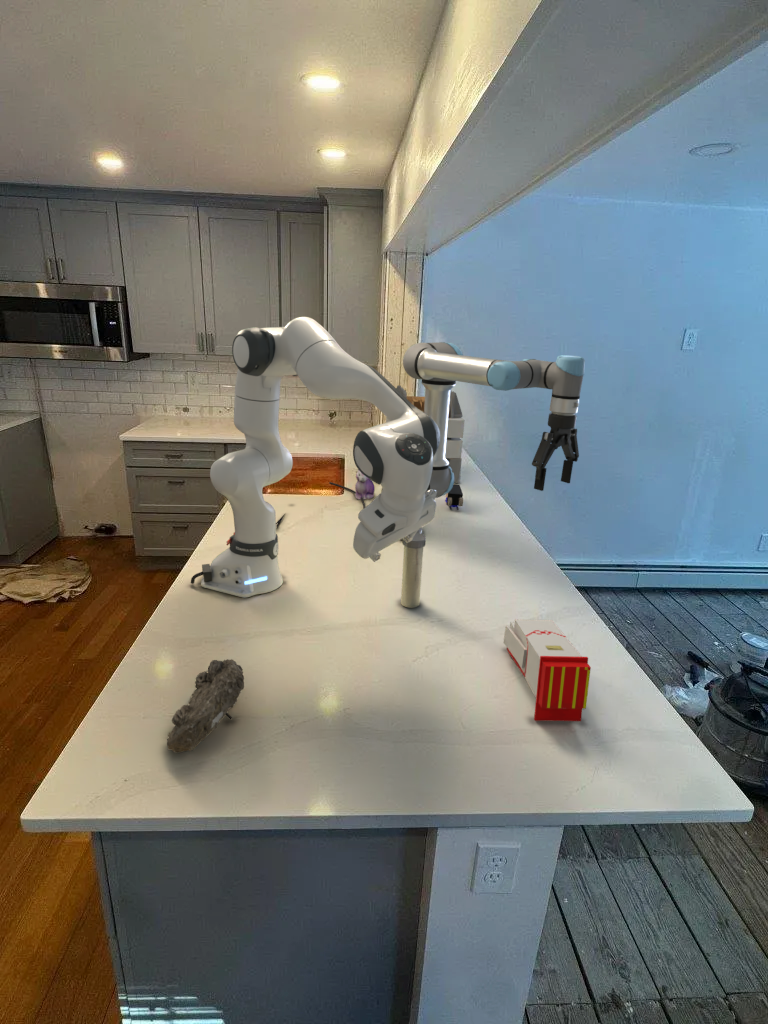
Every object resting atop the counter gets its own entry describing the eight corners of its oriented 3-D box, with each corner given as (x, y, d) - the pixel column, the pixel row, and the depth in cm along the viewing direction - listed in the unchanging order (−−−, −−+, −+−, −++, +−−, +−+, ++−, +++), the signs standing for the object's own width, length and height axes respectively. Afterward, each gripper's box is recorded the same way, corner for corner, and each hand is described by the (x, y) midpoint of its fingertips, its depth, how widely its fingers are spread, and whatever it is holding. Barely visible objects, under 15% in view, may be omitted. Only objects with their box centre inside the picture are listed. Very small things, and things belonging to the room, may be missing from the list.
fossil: (192, 660, 117) (244, 628, 112) (224, 691, 120) (276, 661, 115) (142, 746, 98) (202, 712, 93) (182, 779, 101) (242, 748, 96)
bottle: (398, 605, 152) (401, 539, 145) (404, 597, 156) (408, 533, 150) (415, 609, 150) (420, 543, 144) (421, 601, 154) (426, 536, 148)
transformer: (382, 463, 289) (386, 382, 275) (445, 464, 293) (451, 384, 279) (390, 482, 257) (394, 392, 243) (460, 483, 261) (468, 394, 247)
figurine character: (463, 515, 225) (458, 499, 238) (465, 497, 221) (460, 482, 235) (446, 514, 224) (442, 498, 238) (448, 497, 221) (444, 482, 235)
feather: (292, 507, 224) (294, 503, 223) (275, 531, 197) (278, 527, 197) (288, 505, 224) (291, 501, 223) (271, 528, 197) (273, 524, 197)
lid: (399, 546, 146) (399, 538, 145) (406, 538, 151) (407, 530, 150) (421, 550, 144) (421, 542, 143) (428, 542, 149) (428, 534, 148)
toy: (549, 604, 136) (599, 663, 106) (544, 656, 138) (591, 727, 109) (499, 603, 135) (535, 662, 106) (495, 655, 138) (529, 726, 109)
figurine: (359, 501, 230) (360, 466, 225) (349, 494, 239) (349, 459, 234) (379, 499, 235) (381, 464, 230) (369, 491, 243) (370, 458, 238)
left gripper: (427, 477, 121) (416, 520, 131) (351, 516, 110) (345, 559, 120) (447, 495, 118) (434, 538, 128) (371, 536, 107) (364, 579, 117)
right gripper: (548, 419, 148) (537, 496, 155) (598, 411, 163) (586, 482, 171) (525, 414, 153) (515, 489, 160) (575, 407, 169) (564, 476, 176)
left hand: (391, 549), depth 124 cm, fingers open, 8 cm apart
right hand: (552, 485), depth 166 cm, fingers open, 13 cm apart
